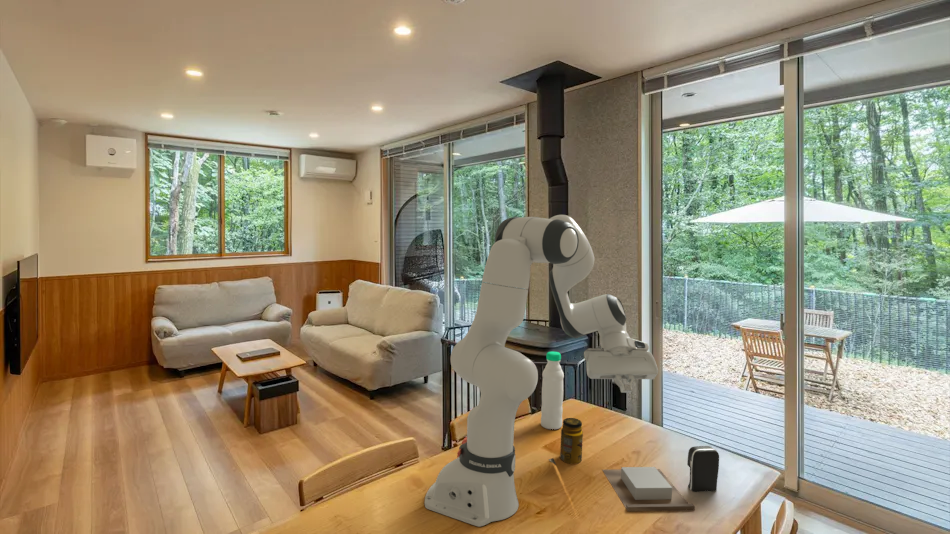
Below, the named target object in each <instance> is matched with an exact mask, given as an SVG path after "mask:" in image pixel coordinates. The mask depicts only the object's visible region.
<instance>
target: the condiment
mask: <svg viewBox="0 0 950 534" xmlns="http://www.w3.org/2000/svg"><path fill="white" fill-rule="evenodd" d="M582 423H583V421H581V420H580V419H579V418H575V417H567V418H564V419H562V427H561V430H560V431H561V432H560V449H559V450H560V452H559V453H560V455H559V457H560V460H561V461H562V462H564V463H566V464H570V465H576V464H580V463H582V460H583V456H582V455H583V436H584V434H583V433H584V432H583V430H582V429H583V428H582V425H583V424H582ZM548 461H550V462H551V463H552V464H554V465H555V466H557V463H556V461H555V458H554V457H552V458H549V459H548Z"/></svg>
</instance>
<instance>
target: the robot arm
mask: <svg viewBox="0 0 950 534" xmlns="http://www.w3.org/2000/svg"><path fill="white" fill-rule="evenodd" d="M494 237H495V238H494V243H493V245H492V246H491V247H490V251H489V254H488V255H487V256H488V257H487V260H486V262H485V266H484V270H483V274H482V280H481V286H480V290H479V291H480V292H479V296H478V302H477V307H476V311H475V315H474V319H473V320H472V323H471V326H470V327H469V330H468V331H467V332H466V334H465V336H464V337H463V338H462V339H460V340H459V341H458V342H457V343H456V344H455V345H454V346H453V349H452V351H451V353H450V365H451V368H452V369H453V371H454V372H455V373H456V374H457V375H458V376H459V377H460V378H461V379H462V380H463V381H465V382H466V383H469V384H471V385H473V386H475V387H477V388H478V389H479V391H480V398H479V401H478V404H477V405H476V406H474V407H473V408H472V409H470V411H469V412H468V415H467V420H466V421H467V422H466V423H467V424H466V428H467V429H466V431H467V432H466V437H464V438H463V440H461V445H460V446H459V449H458V451H457V453H456V456H457V458H455V459H454V460H452V461H450V462H448V463H447V464H446V465H444V466H443V467H442V468H441V470H440V472H439V473H438V474H437V477H436V480H435V482H434V483H432V485H431V486H429V489H428V490H427V492H426V494H425V496H424V507H425V508H426V509H427V510H430V511H433V512H435V513H437V514H440V515H444V516H447V517H449V518H452V519H455V520H458V521H460V522H464V523H466V524H469V525H472V526H475V527H479V528H480V527H483V526H485V525H486V526H487V525H488V524H489V523H491V522H496V521H498V522H499V521H502V520H505V519H508V518H510V517H511V516H513V515H514V514H516V512H517V511H518V509H519V507H520V504H519V499H518V496H517V491H516V485H515V474H514V473H515V470H516V448H515V446H514V439H515V437H514V435H515V434H514V433H515V421H516V420H515V419H516V415H517V412H518V410H519V409H518V408H520V405H521V404H522V402H523V401H525V400H527V399H528V398H529V397H530V396H532V395H533V393H534V391H535V390H536V387H537V384H538V381H539V371H538V368H537V366H536V364H535V363H534V362H533V360H531V359H530V358H529V357H527V356H525V355H524V354H522V353H521V352H520V351H517V350H514V349H512V348H509V347H505V346H506V342H507V339H508V337H509V335H510V333H511V332H512V331H513V330H514V329H516V328H518V327H519V326H520V325H522V323H523V321H524V318H525V312H526V307H527V301H528V294H529V288H530V287H529V286H530V279H531V278H530V277H531V266H532V264H533V263H537V264H551V265H552V266H553V267H552V269H551V270H550V271H549V273H548V278H549V279H548V280H549V286H550V289H551V293H552V296H553V299H554V300H553V301H554V302H555V305H556V307H557V312H558V314H559V319H560V325H561V328H562V331H564V334H566V335H568V336H569V337H571V338H575V339H578V338H581V337H583V336H585V335H588V334H591V333H595V332H597V333H598V334H599V343H600V347H599V348H598V347H596V348H592V347H589V348H587V349H585V350H584V351H583V358H584V360H585V362H586V365H585V366H586V374H587V377H588V378H589V379H591V380H592V379H593V380H614V383H615V384H616V386H618V388H619V390H620V393H621V394H622V393H625V394H631V393H633V392H634V391H633V390H634V388H633V382H634V381H635V380H655V379H656V377H657V375H658V374H659V368H658V365H657V362H656V359H655V357H654V355H653V353H652V352H651V351H649V349H650V347H649V343H647V342H645V341H641V340H638V339H634V338H632V337H630V334H629V333H628V331H627V316H626V312H625V308H624V305H623V302H621V301H622V300H620V299H619V298H618V297H616V296H614V295H612V294H610V293H606V294H602V295H598V296H595V297H592V298H589V299H586V300H584V301H579V302H576V303H571V301H570V298H569V293H568V292H569V291H570V290H571V289H572V288H573V287H574V286H576V285H577V284H578V283H580V282H582V281H583V280H585V279H586V278H587V277H588V276H589V275H590V273H591V272H592V270H593V269H594V267H595V266H594V265H595V260H596V258H595V254H594V251H593V248H592V246H591V244H590V240H588V237H587V236H586V234H585V233H584V231H583V230H582V228H581V227H580V225H579V224H578V223H577V222H576V220H574V218H572V217H571V216H570V215H566V214H557V215H554V216H552V217H549V218H545V217H539V216H525V217H524V216H523V217H520V216H519V217H518V216H514V217H509V218H505V219H504V220H503V221H501V223H500V224H499V226H498V227H497V230H496V233H495V236H494ZM622 380H626V382H627V383H628V384H624V382H623V381H622Z"/></svg>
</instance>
